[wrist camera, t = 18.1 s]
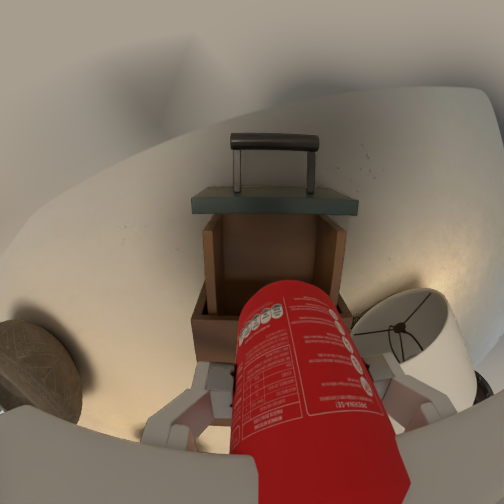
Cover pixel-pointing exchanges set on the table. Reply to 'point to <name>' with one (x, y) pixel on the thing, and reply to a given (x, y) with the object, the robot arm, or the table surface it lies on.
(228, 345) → the cabinet
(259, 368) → the beverage can
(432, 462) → the robot arm
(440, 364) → the light fixture
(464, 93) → the table surface
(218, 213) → the drawer
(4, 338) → the bowl
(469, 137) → the table surface
